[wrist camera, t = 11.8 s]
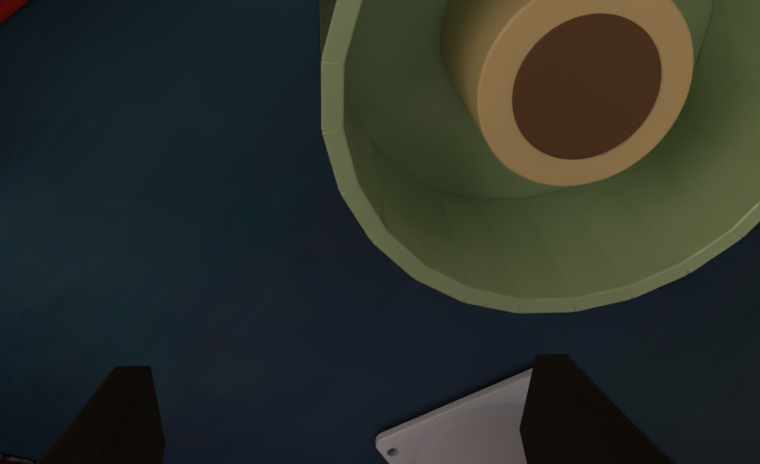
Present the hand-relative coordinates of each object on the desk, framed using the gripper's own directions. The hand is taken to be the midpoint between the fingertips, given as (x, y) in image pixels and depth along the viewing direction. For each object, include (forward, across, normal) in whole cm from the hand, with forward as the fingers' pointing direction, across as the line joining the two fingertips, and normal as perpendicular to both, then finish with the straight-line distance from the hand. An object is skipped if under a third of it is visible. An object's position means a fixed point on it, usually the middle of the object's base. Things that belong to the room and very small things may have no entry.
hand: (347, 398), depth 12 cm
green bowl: (+10, -6, -4) cm, 13 cm away
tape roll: (+10, -6, -4) cm, 12 cm away
